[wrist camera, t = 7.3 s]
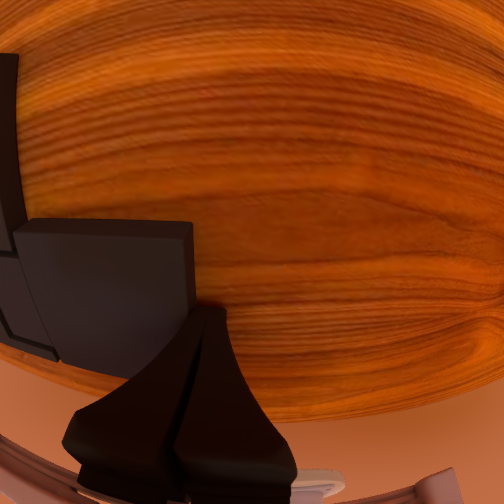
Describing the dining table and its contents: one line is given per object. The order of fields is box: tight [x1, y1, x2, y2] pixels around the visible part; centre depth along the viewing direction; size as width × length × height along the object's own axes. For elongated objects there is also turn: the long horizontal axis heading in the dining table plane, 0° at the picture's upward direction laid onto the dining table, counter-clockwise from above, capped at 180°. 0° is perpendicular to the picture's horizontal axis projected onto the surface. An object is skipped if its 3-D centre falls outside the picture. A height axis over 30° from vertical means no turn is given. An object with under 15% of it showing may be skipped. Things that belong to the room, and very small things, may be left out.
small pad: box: [0, 218, 196, 379], centre depth 11 cm, size 8×12×2 cm
